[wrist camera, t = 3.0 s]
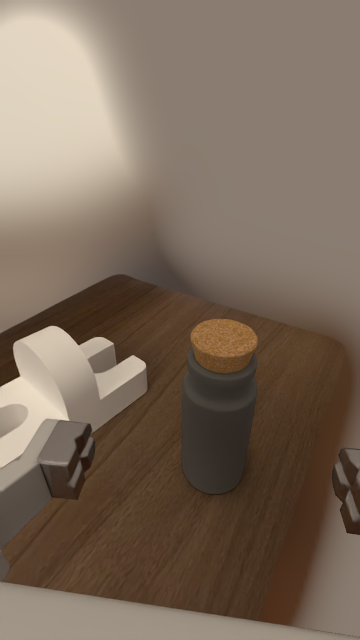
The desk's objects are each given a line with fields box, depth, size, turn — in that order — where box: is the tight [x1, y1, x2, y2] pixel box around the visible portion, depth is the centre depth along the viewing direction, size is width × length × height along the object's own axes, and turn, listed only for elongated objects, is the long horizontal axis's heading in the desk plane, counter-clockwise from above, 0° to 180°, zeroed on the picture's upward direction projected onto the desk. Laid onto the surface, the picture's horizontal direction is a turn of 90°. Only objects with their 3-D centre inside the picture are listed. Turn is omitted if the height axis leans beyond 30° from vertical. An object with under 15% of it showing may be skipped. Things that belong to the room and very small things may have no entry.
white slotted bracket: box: [0, 326, 148, 470], centre depth 34 cm, size 10×18×10 cm, turn 139°
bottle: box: [182, 319, 258, 494], centre depth 27 cm, size 6×6×15 cm
